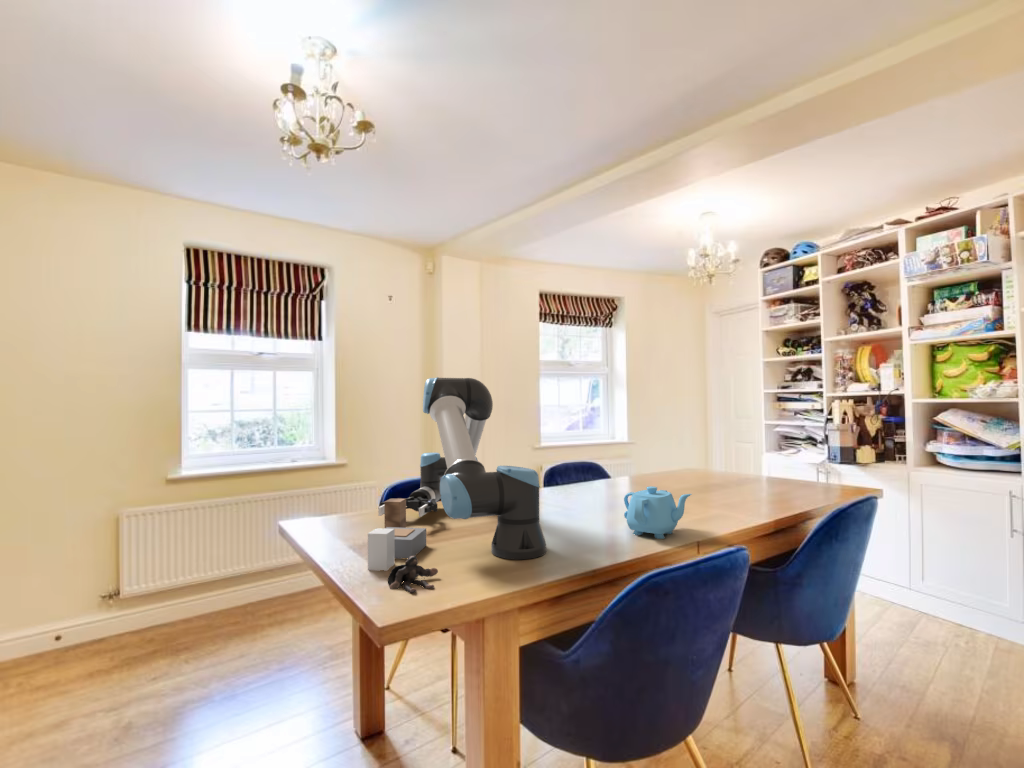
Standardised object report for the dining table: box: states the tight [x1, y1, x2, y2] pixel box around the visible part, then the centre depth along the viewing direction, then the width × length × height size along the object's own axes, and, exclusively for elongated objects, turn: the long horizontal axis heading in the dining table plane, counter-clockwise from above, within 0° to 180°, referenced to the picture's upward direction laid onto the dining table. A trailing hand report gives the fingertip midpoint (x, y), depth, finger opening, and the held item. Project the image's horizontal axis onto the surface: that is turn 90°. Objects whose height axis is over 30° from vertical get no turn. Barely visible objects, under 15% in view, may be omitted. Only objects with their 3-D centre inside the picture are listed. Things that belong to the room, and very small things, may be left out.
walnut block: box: [384, 498, 407, 529], centre depth 155 cm, size 5×5×11 cm
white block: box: [367, 527, 396, 572], centre depth 125 cm, size 5×5×9 cm
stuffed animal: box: [387, 555, 439, 594], centre depth 115 cm, size 12×10×12 cm
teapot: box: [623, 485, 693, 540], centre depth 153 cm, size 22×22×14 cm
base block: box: [384, 527, 427, 559], centre depth 138 cm, size 12×12×5 cm
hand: (399, 512), depth 159 cm, fingers open, 13 cm apart
